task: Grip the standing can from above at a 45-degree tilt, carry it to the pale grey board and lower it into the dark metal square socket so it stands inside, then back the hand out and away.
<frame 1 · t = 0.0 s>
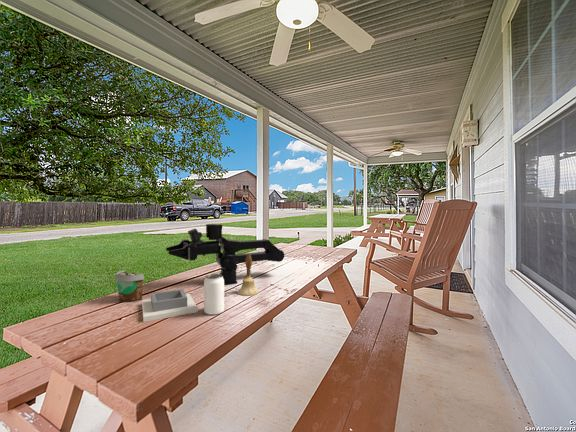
hand: (167, 250, 112), 17 cm above the table, tool horizontal, fingers open, 9 cm apart
socket board: (168, 308, 95), on the table
food container: (126, 300, 102), on the table
can: (214, 312, 92), on the table
hand bell: (248, 292, 112), on the table
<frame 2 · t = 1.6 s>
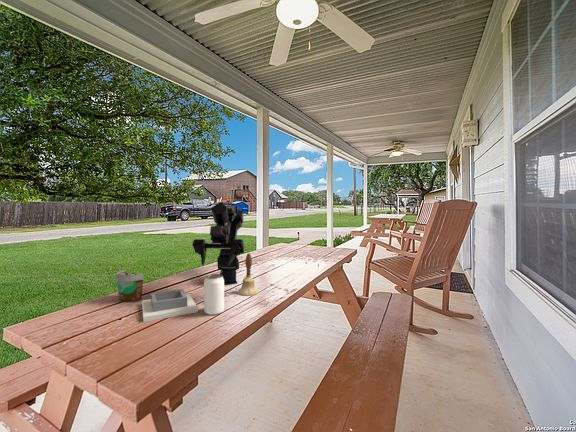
hand: (215, 264, 100), 14 cm above the table, tool tilted 45°, fingers open, 9 cm apart
nothing on the table moved.
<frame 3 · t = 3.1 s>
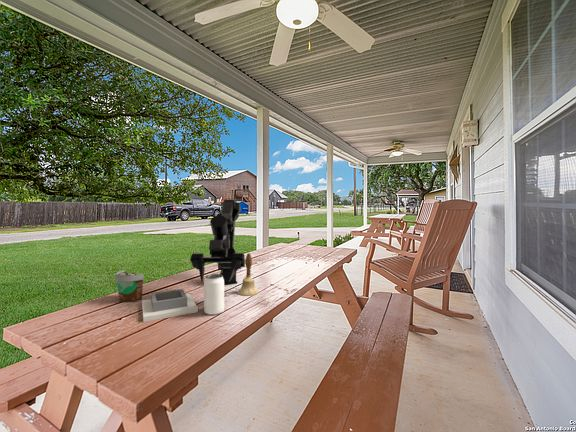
hand: (215, 281, 94), 10 cm above the table, tool tilted 45°, fingers open, 9 cm apart
nothing on the table moved.
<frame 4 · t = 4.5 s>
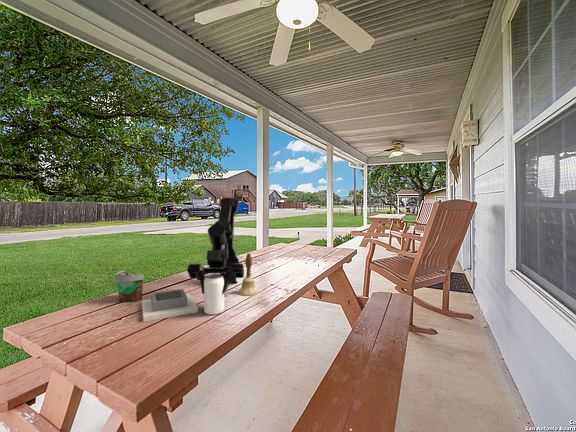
hand: (213, 293, 91), 7 cm above the table, tool tilted 45°, fingers closed on can, 6 cm apart
can: (214, 312, 92), on the table, touching gripper
everything else where it was.
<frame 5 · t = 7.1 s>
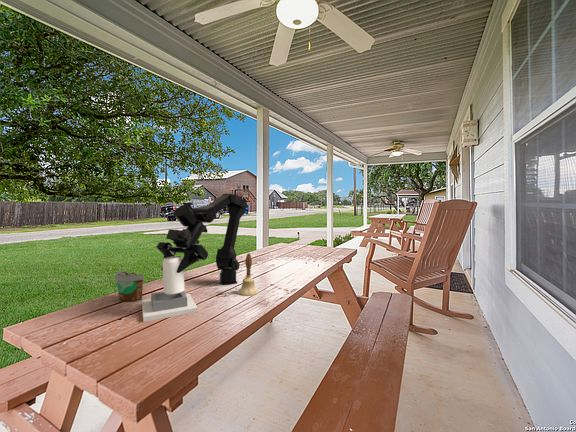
hand: (169, 271, 92), 13 cm above the table, tool tilted 45°, fingers closed on can, 6 cm apart
can: (174, 293, 93), point 6 cm above the table, touching gripper
everything else where it was.
when the fingers open (9 cm above the table, at t = 8.9 s): can stays where it is, resting on socket board.
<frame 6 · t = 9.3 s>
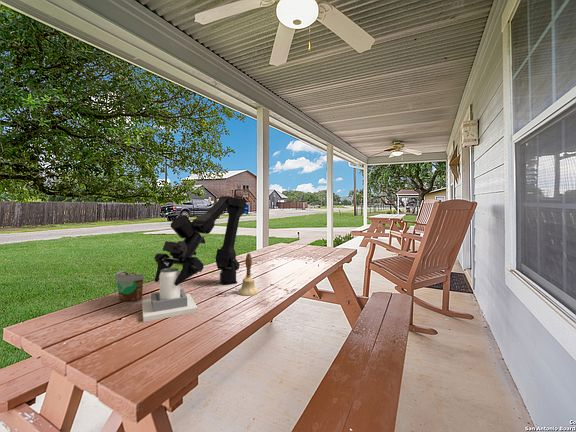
hand: (165, 283, 93), 9 cm above the table, tool tilted 45°, fingers open, 9 cm apart
can: (170, 305, 94), point 1 cm above the table, touching socket board
everything else where it was.
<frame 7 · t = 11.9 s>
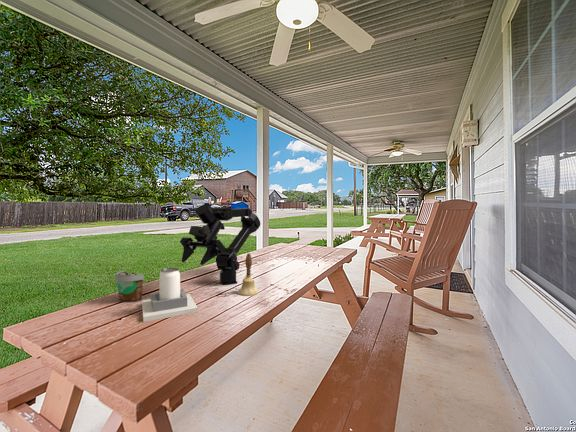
hand: (191, 263, 104), 13 cm above the table, tool tilted 45°, fingers open, 9 cm apart
nothing on the table moved.
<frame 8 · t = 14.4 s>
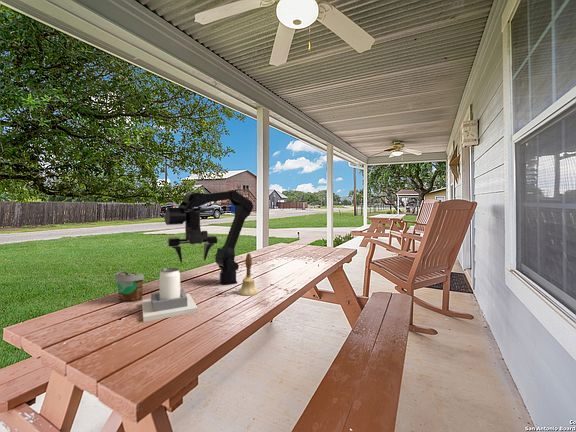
hand: (193, 261, 113), 12 cm above the table, tool pointing down, fingers open, 9 cm apart
nothing on the table moved.
at the end: can 0.9 cm off-centre on the socket board, point 1.3 cm above the socket board's base; can tilted 0°; the gripper is holding nothing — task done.
